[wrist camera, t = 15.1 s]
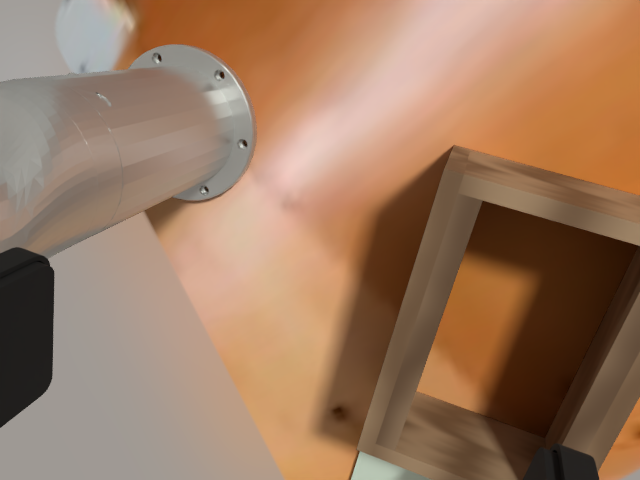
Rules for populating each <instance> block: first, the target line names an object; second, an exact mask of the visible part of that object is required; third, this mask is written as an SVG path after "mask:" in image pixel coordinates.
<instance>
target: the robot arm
mask: <svg viewBox="0 0 640 480" xmlns="http://www.w3.org/2000/svg"><path fill="white" fill-rule="evenodd" d="M160 55H161V58H162V60H160ZM222 72H224V76H225V77H224V78H223V77H222V76H221V73H222ZM256 137H257V125H256V118H255V111H254V108H253V105H252V102H251V99H250V96H249V94H248V92H247V90H246V88H245V86H244V84H243V83H242V81H241V80H240V78H239V77H238V76H237V75H236V73H235V72H234V71H233V69H231V68H230V67H229V66H228V65H227V64H226V63H225V62H224V61H223V60H222V59H220V58H219V57H217V56H215V55H214V54H212V53H211V52H209V51H206V50H204V49H201V48H199V47H196V46H190V45H183V44H177V45H165V46H160V47H156V48H154V49H152V50H149V51H147V52H145V53H144V54H142V55H141V56H140V57H139V58H137V59H136V60H135V61H134V62H133V63H132V65H131V66H130V67H129V68H128V69H127V70H116V71H105V72H93V73H82V74H75V73H69V74H68V75H60V76H48V77H37V78H36V77H35V78H23V79H13V80H8V81H3V82H0V428H1V427H2V426H3V425H5V424H6V423H7V422H8V421H9V420H11V419H12V418H13V417H15V416H16V415H17V414H19V413H20V412H21V411H22V410H23V409H25V408H26V407H28V406H29V405H30V404H31V403H33V402H34V401H35V400H36V399H38V398H39V397H40V396H41V395H43V393H44V392H45V391H46V390H47V389H48V387H49V385H50V383H51V380H52V365H53V363H52V362H53V315H54V314H53V313H54V270H53V269H52V267H50V263H49V261H48V258H50V257H51V256H53V255H55V254H57V253H59V252H61V251H63V250H65V249H67V248H68V247H71V246H72V245H74V244H76V243H78V242H80V241H83V240H84V239H87V238H89V237H91V236H93V235H95V234H97V233H99V232H102V231H104V230H106V229H108V228H110V227H111V226H114V225H116V224H118V223H120V222H122V221H124V220H126V219H128V218H130V217H132V216H134V215H136V214H138V213H140V212H142V211H144V210H146V209H148V208H151V207H153V206H155V205H157V204H159V203H161V202H163V201H165V200H167V199H169V198H171V197H173V198H177V199H182V200H189V201H200V200H205V199H210V198H213V197H215V196H217V195H219V194H222V193H223V192H225V191H227V190H228V189H230V188H231V187H232V186H234V185H235V184H236V183H237V182H238V181H239V180H240V179H241V178H242V176H243V175H244V173H245V172H246V170H247V169H248V167H249V165H250V162H251V160H252V158H253V155H254V150H255V146H256ZM244 140H246V142H247V146H246V145H244ZM206 187H207V188H208V189H209V191H208V190H207V189H206ZM523 480H599V476H598V472H597V467H596V463H595V460H594V458H593V457H592V456H591V455H588V454H585V453H582V452H580V451H577V450H574V449H571V448H569V447H566V446H563V445H561V444H558V443H556V444H554V445H553V446H552V447H551V448H550V450H548V449H545V448H542V447H540V448H539V449H538V450H537V452H536V453H535V455H534V457H533V459H532V462H531V464H530V466H529V468H528V470H527V472H526V474H525V476H524V478H523Z"/></svg>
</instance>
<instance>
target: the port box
mask: <svg viewBox="0 0 640 480" xmlns="http://www.w3.org/2000/svg"><path fill="white" fill-rule="evenodd" d="M482 201H487V202H490V203H493V204H497V205H500V206H504V207H507V208H511V209H514V210H518V211H521V212H524V213H528V214H531V215H535V216H538V217H542V218H545V219H549V220H552V221H556V222H559V223H562V224H566V225H569V226H573V227H576V228H580V229H583V230H587V231H590V232H594V233H597V234H600V235H604V236H607V237H611V238H614V239H618V240H621V241H625V242H628V243H632V244H635V245H638V248H637V250H636V252H635V255H634V257H633V259H632V261H631V263H630V265H629V267H628V269H627V271H626V273H625V275H624V277H623V279H622V281H621V283H620V285H619V287H618V289H617V291H616V293H615V295H614V298H613V300H612V302H611V304H610V306H609V308H608V310H607V312H606V314H605V316H604V318H603V320H602V322H601V324H600V326H599V328H598V330H597V332H596V334H595V336H594V338H593V341H592V343H591V345H590V347H589V349H588V351H587V353H586V355H585V357H584V359H583V361H582V363H581V365H580V367H579V369H578V371H577V373H576V375H575V377H574V379H573V382H572V384H571V386H570V388H569V390H568V392H567V394H566V396H565V398H564V400H563V402H562V404H561V406H560V408H559V410H558V412H557V414H556V416H555V418H554V420H553V422H552V425H551V427H550V429H549V431H548V433H547V435H546V437H545V438H543V437H540V436H538V435H535V434H532V433H529V432H527V431H524V430H521V429H518V428H516V427H513V426H510V425H507V424H505V423H502V422H499V421H496V420H494V419H491V418H488V417H486V416H483V415H480V414H477V413H475V412H472V411H469V410H466V409H464V408H461V407H458V406H455V405H453V404H450V403H447V402H444V401H442V400H439V399H436V398H433V397H431V396H428V395H425V394H422V393H420V392H417V391H416V390H417V387H418V384H419V381H420V378H421V375H422V372H423V370H424V367H425V364H426V361H427V358H428V355H429V352H430V350H431V347H432V344H433V341H434V338H435V335H436V332H437V330H438V327H439V324H440V321H441V318H442V315H443V312H444V310H445V307H446V304H447V301H448V298H449V295H450V292H451V290H452V287H453V284H454V281H455V278H456V275H457V273H458V270H459V267H460V264H461V261H462V258H463V255H464V253H465V250H466V247H467V244H468V241H469V238H470V235H471V233H472V230H473V227H474V224H475V221H476V218H477V215H478V213H479V210H480V207H481V204H482ZM639 397H640V196H639V195H635V194H631V193H628V192H624V191H620V190H617V189H613V188H609V187H606V186H602V185H598V184H595V183H591V182H587V181H584V180H580V179H576V178H573V177H569V176H566V175H562V174H558V173H555V172H551V171H547V170H544V169H540V168H536V167H533V166H529V165H525V164H522V163H518V162H514V161H511V160H507V159H503V158H500V157H496V156H492V155H489V154H485V153H481V152H478V151H474V150H470V149H467V148H463V147H459V146H456V145H454V146H453V149H452V151H451V153H450V156H449V158H448V161H447V163H446V166H445V168H444V171H443V174H442V177H441V181H440V184H439V187H438V190H437V193H436V197H435V200H434V203H433V206H432V209H431V213H430V216H429V219H428V222H427V225H426V229H425V232H424V235H423V238H422V241H421V245H420V248H419V251H418V254H417V257H416V261H415V264H414V267H413V270H412V273H411V277H410V280H409V283H408V286H407V289H406V293H405V296H404V299H403V302H402V305H401V309H400V312H399V315H398V318H397V321H396V325H395V328H394V331H393V334H392V337H391V341H390V344H389V347H388V350H387V353H386V357H385V360H384V363H383V366H382V369H381V373H380V376H379V379H378V382H377V385H376V388H375V392H374V395H373V398H372V401H371V404H370V408H369V411H368V414H367V417H366V420H365V424H364V427H363V430H362V433H361V436H360V440H359V443H358V446H357V449H356V450H358V451H361V452H363V453H366V454H368V455H371V456H373V457H376V458H379V459H381V460H384V461H386V462H389V463H391V464H394V465H396V466H399V467H401V468H404V469H406V470H409V471H412V472H414V473H417V474H419V475H422V476H424V477H427V478H429V479H432V480H523V478H524V476H525V474H526V472H527V470H528V468H529V466H530V464H531V462H532V459H533V457H534V455H535V453H536V452H537V450H538V449H539V448H540V447H542V448H545V449H548V450H550V448H551V447H552V446H553V445H554V444H556V443H558V444H561V445H563V446H566V447H569V448H571V449H574V450H577V451H580V452H582V453H585V454H588V455H591V456H592V457H593V458H594V460H595V463H596V467H597V472H598V471H599V469H600V467H601V465H602V463H603V462H604V460H605V458H606V456H607V454H608V453H609V451H610V449H611V447H612V446H613V444H614V442H615V440H616V438H617V437H618V435H619V433H620V431H621V429H622V428H623V426H624V424H625V422H626V420H627V419H628V417H629V415H630V413H631V411H632V410H633V408H634V406H635V404H636V402H637V401H638V399H639Z"/></svg>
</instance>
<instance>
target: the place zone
mask: <svg viewBox="0 0 640 480" xmlns="http://www.w3.org/2000/svg"><path fill="white" fill-rule="evenodd" d="M351 480H432V479H429V478H427V477H424V476H422V475H419V474H417V473H414V472H412V471H409V470H406V469H404V468H401V467H399V466H396V465H394V464H391V463H389V462H386V461H384V460H381V459H379V458H376V457H373V456H371V455H368V454H366V453H363V452H361V451H360V453H359V456H358V459H357V462H356V465H355V468H354V472H353V475H352V478H351Z"/></svg>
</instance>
